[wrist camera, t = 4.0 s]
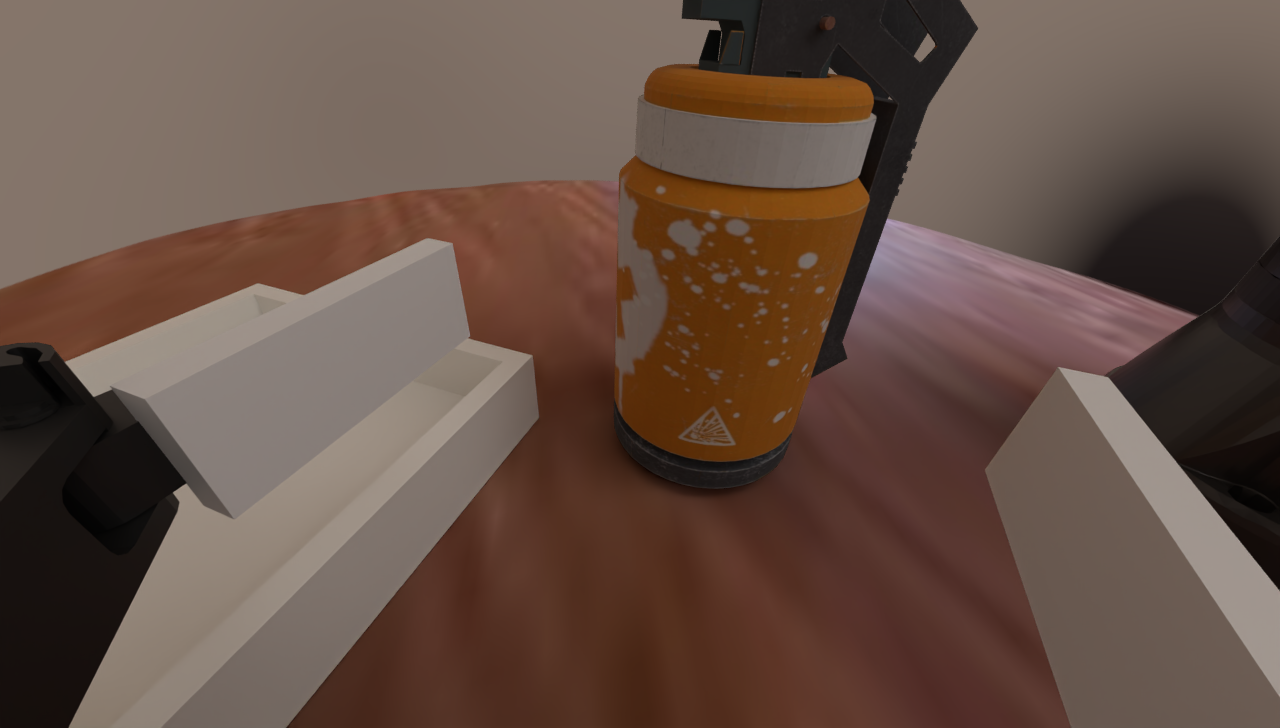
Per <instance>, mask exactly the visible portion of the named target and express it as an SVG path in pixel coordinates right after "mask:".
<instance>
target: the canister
mask: <svg viewBox="0 0 1280 728" xmlns="http://www.w3.org/2000/svg"><path fill="white" fill-rule="evenodd" d="M682 19H697V20H711V21H719V24H720V27H721V31H722V39H721V31H719V30H709V33H708V35H707V38H706V42H705V44H704V47H703V50H702V53H701V57H700V59H699V64H674V65H668V66H664V67H660V68H657V69H655V70H654V71H653V72H652V73H651V74H650V76H649V77H648V79H647V81H646V83H645V91H644V95H641V96H639V98H638V109H637V127H636V145H635V153H636V156H634V157H633V158H632V159H631V160H630V161H629V162H628V163H627V164H626V165H625V166H624V167H623V168H622V169H621V171H620V173H619V207H618V251H617V296H616V341H615V386H614V393H615V400H614V426H615V430H616V433H617V436H618V438H619V440H620V442H621V444H622V445H623V447H624V448H625V449H626V451H627V452H628V453H629V454H630V455H631V457H633V458H634V459H635V460H636V461H637V462H638V463H639V464H641V465H642V466H644V467H645V468H647V469H648V470H650V471H651V472H653V473H655V474H657V475H659V476H661V477H663V478H665V479H668V480H671V481H674V482H677V483H680V484H683V485H688V486H694V487H700V488H730V487H735V486H741V485H745V484H748V483H751V482H753V481H756V480H758V479H760V478H762V477H763V476H765V475H767V474H768V473H770V472H771V471H772V470H773V469H774V468H776V467H777V465H778V464H779V463H780V461H781V460H782V459H783V457H784V455H785V452H786V450H787V447H788V444H789V441H790V438H791V435H792V431H793V428H794V426H795V423H796V420H797V417H798V414H799V411H800V408H801V405H802V402H803V399H804V396H805V393H806V390H807V387H808V384H809V381H810V379H811V378H812V377H814V376H816V375H818V374H820V373H822V372H823V371H825V370H827V369H829V368H831V367H833V366H834V365H836V364H838V363H840V362H842V361H844V360H845V359H847V356H846V353H845V349H844V346H843V343H842V341H843V339H844V336H845V333H846V330H847V328H848V325H849V322H850V319H851V317H852V314H853V311H854V308H855V306H856V303H857V300H858V297H859V294H860V292H861V289H862V286H863V283H864V281H865V278H866V275H867V272H868V270H869V267H870V264H871V261H872V259H873V256H874V253H875V250H876V248H877V245H878V242H879V239H880V237H881V234H882V231H883V228H884V225H885V223H886V220H887V217H888V214H889V212H890V209H891V206H892V203H893V201H894V198H895V196H897V195H898V192H899V189H898V187H899V184H902V182H903V178H902V176H903V173H906V171H907V168H908V167H907V166H906V165H907V162H908V161H910V160H911V157H912V154H911V151H912V149H914V148H915V146H916V143H917V142H915V140H916V137H917V134H918V131H919V129H920V126H921V123H922V121H923V118H924V115H925V112H926V110H927V107H928V105H929V103H930V102H931V100H932V98H933V97H934V95H935V94H936V92H937V91H938V89H939V87H940V86H941V84H942V83H943V82H944V80H945V78H946V77H947V76H948V74H949V72H950V71H951V69H952V68H953V66H954V65H955V63H956V62H957V60H958V59H959V57H960V56H961V54H962V52H963V51H964V50H965V48H966V46H967V45H968V43H969V42H970V40H971V39H972V37H973V36H974V34H975V33H976V31H977V30H978V27H977V26H976V24H975V23H974V21H973V20H972V18H971V16H970V15H969V13H968V12H967V10H966V9H965V7H964V6H963V4H962V2H961V1H960V0H683V9H682ZM927 33H928V34H929V35H930V36H931V38H932V39H933V41H934V42H935V47H934V49H933V50H932V51H931V52H930V53H929V54H928V55H927V56H926V58H924V60H923V61H921V62H919V61H918V60H917V59H916V58H915V57H914V55H915V53H916V51H917V50H918V48H919V47H920V45H921V43H922V42H923V40H924V38H925V37H926V35H927ZM720 39H721V46H720ZM719 47H720V54H719ZM718 55H719V61H718ZM829 67H830V68H831V69H832V70H833V71H834V72H835V73H836V74H837V75H835V74H828V70H829ZM888 97H890V98H891V99H892V100H890V99H888Z"/></svg>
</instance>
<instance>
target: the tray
mask: <svg viewBox="0 0 1280 728" xmlns="http://www.w3.org/2000/svg"><path fill="white" fill-rule="evenodd" d="M302 296H304V295H300V294H297V293H293V292H289V291H285V290H281V289H277V288H274V287H270V286H266V285H262V284H255V285H253V286H250V287H248V288H245V289H243V290H241V291H238V292H236V293H233V294H231V295H228V296H226V297H223V298H221V299H218V300H216V301H214V302H211V303H209V304H206V305H204V306H201V307H199V308H196V309H194V310H191V311H189V312H187V313H184V314H182V315H179V316H177V317H174V318H172V319H169V320H167V321H164V322H162V323H160V324H157V325H155V326H152V327H150V328H147V329H145V330H142V331H140V332H137V333H135V334H133V335H130V336H128V337H125V338H123V339H120V340H118V341H115V342H113V343H110V344H108V345H106V346H103V347H101V348H98V349H96V350H93V351H91V352H88V353H86V354H83V355H81V356H79V357H76V358H74V359H71V360H69V361H66V362H65V363H66V364H67V365H68V366H69V368H70V369H71V370H72V371H73V373H74V374H75V375H76V376H77V377H78V379H79V380H80V381H81V382H82V383H83V385H84V386H85V387H86V388H87V389H88V391H89V392H90V393H91V394H92V396H93V397H95V396H97V395H100V394H102V393H105V392H107V391H109V390H112V389H111V387H110V385H112V384H114V383H116V382H118V381H121V380H123V379H125V378H127V377H129V376H131V375H133V374H136V373H138V372H140V371H142V370H144V369H146V368H149V367H151V366H153V365H155V364H157V363H159V362H162V361H164V360H166V359H168V358H170V357H172V356H174V355H177V354H179V353H181V352H183V351H185V350H187V349H190V348H192V347H194V346H196V345H198V344H200V343H202V342H205V341H207V340H209V339H211V338H213V337H215V336H218V335H220V334H222V333H224V332H226V331H228V330H231V329H233V328H235V327H237V326H239V325H241V324H243V323H246V322H248V321H250V320H252V319H254V318H256V317H259V316H261V315H263V314H265V313H267V312H269V311H271V310H274V309H276V308H278V307H280V306H282V305H284V304H287V303H289V302H291V301H293V300H295V299H297V298H299V297H302ZM538 418H539V411H538V402H537V392H536V383H535V373H534V364H533V355H529V354H525V353H521V352H517V351H514V350H510V349H506V348H502V347H498V346H494V345H491V344H487V343H483V342H479V341H475V340H472V339H468V338H467V339H466V340H464V341H463V342H462V343H461V344H459V345H458V346H457V347H455V348H454V349H453V350H452V351H450V352H449V353H448V354H446V355H445V356H444V357H443V358H441V359H440V360H439V361H437V362H436V363H435V364H434V365H432V366H431V367H430V368H428V369H427V370H426V371H425V372H423V373H422V374H421V375H419V376H418V377H417V378H416V379H414V380H413V381H412V382H411V383H409V384H408V385H407V386H405V387H404V388H403V389H402V390H400V391H399V392H398V393H396V394H395V395H394V396H393V397H391V398H390V399H389V400H387V401H386V402H385V403H384V404H382V405H381V406H380V407H378V408H377V409H376V410H375V411H373V412H372V413H371V414H369V415H368V416H367V417H366V418H364V419H363V420H362V421H361V422H359V423H358V424H357V425H355V426H354V427H353V428H352V429H350V430H349V431H348V432H346V433H345V434H344V435H343V436H341V437H340V438H339V439H337V440H336V441H335V442H334V443H332V444H331V445H330V446H328V447H327V448H326V449H325V450H323V451H322V452H321V453H319V454H318V455H317V456H316V457H314V458H313V459H312V460H310V461H309V462H308V463H307V464H305V465H304V466H303V467H302V468H300V469H299V470H298V471H296V472H295V473H294V474H293V475H291V476H290V477H289V478H287V479H286V480H285V481H284V482H282V483H281V484H280V485H278V486H277V487H276V488H275V489H273V490H272V491H271V492H269V493H268V494H267V495H266V496H264V497H263V498H262V499H260V500H259V501H258V502H257V503H255V504H254V505H253V506H252V507H250V508H249V509H248V510H246V511H245V512H244V513H243V514H241V515H240V516H239V517H237V518H236V519H235V520H234V519H232V518H230V517H227V516H225V515H223V514H221V513H218V512H216V511H214V510H212V509H209V508H207V507H205V506H203V504H202V503H201V502H200V500H199V499H198V498H197V497H196V495H195V494H194V493H193V492H192V490H191V489H190V488H189V486H188V485H187V484H185V485H183V486H182V487H180V488H179V489H177V490H176V491H174V492H173V494H174V495H175V496H176V498H177V499H178V500H179V507H178V512H177V514H176V516H175V518H174V520H173V522H172V524H171V526H170V528H169V530H168V532H167V534H166V536H165V538H164V540H163V542H162V544H161V546H160V548H159V550H158V551H157V553H156V555H155V557H154V559H153V561H152V563H151V565H150V567H149V569H148V571H147V573H146V575H145V577H144V579H143V581H142V583H141V585H140V587H139V589H138V591H137V593H136V595H135V597H134V599H133V601H132V603H131V605H130V607H129V609H128V611H127V613H126V615H125V617H124V619H123V621H122V623H121V625H120V627H119V629H118V631H117V633H116V635H115V637H114V639H113V641H112V643H111V645H110V647H109V649H108V651H107V653H106V655H105V656H104V658H103V660H102V662H101V664H100V666H99V668H98V670H97V672H96V674H95V676H94V678H93V680H92V682H91V684H90V686H89V688H88V690H87V692H86V694H85V696H84V698H83V700H82V702H81V704H80V706H79V708H78V710H77V712H76V714H75V716H74V718H73V720H72V722H71V724H70V726H69V728H286V727H287V726H288V725H289V723H290V722H291V721H292V720H293V719H294V717H295V716H296V715H297V714H298V712H299V711H300V710H301V709H302V708H303V706H304V705H305V704H306V703H307V701H308V700H309V699H310V698H311V697H312V695H313V694H314V693H315V692H316V690H317V689H318V688H319V687H320V685H321V684H322V683H323V682H324V681H325V679H326V678H327V677H328V676H329V674H330V673H331V672H332V671H333V670H334V668H335V667H336V666H337V665H338V663H339V662H340V661H341V660H342V659H343V657H344V656H345V655H346V654H347V652H348V651H349V650H350V649H351V647H352V646H353V645H354V644H355V643H356V641H357V640H358V639H359V638H360V636H361V635H362V634H363V633H364V632H365V630H366V629H367V628H368V627H369V625H370V624H371V623H372V622H373V621H374V619H375V618H376V617H377V616H378V614H379V613H380V612H381V611H382V610H383V608H384V607H385V606H386V605H387V603H388V602H389V601H390V600H391V598H392V597H393V596H394V595H395V594H396V592H397V591H398V590H399V589H400V587H401V586H402V585H403V584H404V583H405V581H406V580H407V579H408V578H409V576H410V575H411V574H412V573H413V572H414V570H415V569H416V568H417V567H418V565H419V564H420V563H421V562H422V560H423V559H424V558H425V557H426V556H427V554H428V553H429V552H430V551H431V549H432V548H433V547H434V546H435V545H436V543H437V542H438V541H439V540H440V538H441V537H442V536H443V535H444V534H445V532H446V531H447V530H448V529H449V527H450V526H451V525H452V524H453V522H454V521H455V520H456V519H457V518H458V516H459V515H460V514H461V513H462V511H463V510H464V509H465V508H466V507H467V505H468V504H469V503H470V502H471V500H472V499H473V498H474V497H475V496H476V494H477V493H478V492H479V491H480V489H481V488H482V487H483V486H484V484H485V483H486V482H487V481H488V480H489V478H490V477H491V476H492V475H493V473H494V472H495V471H496V470H497V469H498V467H499V466H500V465H501V464H502V462H503V461H504V460H505V459H506V458H507V456H508V455H509V454H510V453H511V451H512V450H513V449H514V448H515V447H516V445H517V444H518V443H519V442H520V440H521V439H522V438H523V437H524V435H525V434H526V433H527V432H528V431H529V429H530V428H531V427H532V426H533V424H534V423H535V422H536V421H537V420H538Z"/></svg>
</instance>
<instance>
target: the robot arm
mask: <svg viewBox="0 0 1280 728" xmlns="http://www.w3.org/2000/svg"><path fill="white" fill-rule="evenodd" d="M469 336H470V332H469V327H468V322H467V316H466V311H465V306H464V301H463V296H462V290H461V285H460V280H459V275H458V270H457V265H456V259H455V254H454V249H453V244H452V243H448V242H444V241H439V240H434V239H429V238H427V239H425V240H422V241H420V242H418V243H416V244H414V245H412V246H409V247H407V248H405V249H403V250H401V251H399V252H397V253H394V254H392V255H390V256H388V257H386V258H384V259H381V260H379V261H377V262H375V263H373V264H371V265H368V266H366V267H364V268H362V269H360V270H358V271H356V272H353V273H351V274H349V275H347V276H345V277H343V278H340V279H338V280H336V281H334V282H332V283H330V284H328V285H325V286H323V287H321V288H319V289H317V290H315V291H312V292H310V293H308V294H306V295H304V296H302V297H299V298H297V299H295V300H293V301H291V302H289V303H287V304H284V305H282V306H280V307H278V308H276V309H274V310H271V311H269V312H267V313H265V314H263V315H261V316H259V317H256V318H254V319H252V320H250V321H248V322H246V323H243V324H241V325H239V326H237V327H235V328H233V329H231V330H228V331H226V332H224V333H222V334H220V335H218V336H215V337H213V338H211V339H209V340H207V341H205V342H202V343H200V344H198V345H196V346H194V347H192V348H190V349H187V350H185V351H183V352H181V353H179V354H177V355H174V356H172V357H170V358H168V359H166V360H164V361H162V362H159V363H157V364H155V365H153V366H151V367H149V368H146V369H144V370H142V371H140V372H138V373H136V374H133V375H131V376H129V377H127V378H125V379H123V380H121V381H118V382H116V383H114V384H112V385H110V387H111V389H112V390H109V391H107V392H105V393H102V394H100V395H97V396H95V397H93V396H92V394H91V393H90V392H89V391H88V389H87V388H86V387H85V386H84V385H83V383H82V382H81V381H80V380H79V379H78V377H77V376H76V375H75V374H74V373H73V371H72V370H71V369H70V368H69V366H68V365H67V364H66V363H65V362H64V360H63V359H62V358H61V357H60V356H59V354H58V353H57V352H56V351H55V350H54V348H53V347H52V346H51V345H47V344H42V343H16V344H10V345H4V346H0V728H69V726H70V724H71V722H72V720H73V718H74V716H75V714H76V712H77V710H78V708H79V706H80V704H81V702H82V700H83V698H84V696H85V694H86V692H87V690H88V688H89V686H90V684H91V682H92V680H93V678H94V676H95V674H96V672H97V670H98V668H99V666H100V664H101V662H102V660H103V658H104V656H105V655H106V653H107V651H108V649H109V647H110V645H111V643H112V641H113V639H114V637H115V635H116V633H117V631H118V629H119V627H120V625H121V623H122V621H123V619H124V617H125V615H126V613H127V611H128V609H129V607H130V605H131V603H132V601H133V599H134V597H135V595H136V593H137V591H138V589H139V587H140V585H141V583H142V581H143V579H144V577H145V575H146V573H147V571H148V569H149V567H150V565H151V563H152V561H153V559H154V557H155V555H156V553H157V551H158V550H159V548H160V546H161V544H162V542H163V540H164V538H165V536H166V534H167V532H168V530H169V528H170V526H171V524H172V522H173V520H174V518H175V516H176V514H177V512H178V507H179V500H178V499H177V498H176V496H175V495H174V494H173V492H174V491H176V490H177V489H179V488H180V487H182V486H183V485H185V484H187V485H188V486H189V488H190V489H191V490H192V492H193V493H194V494H195V495H196V497H197V498H198V499H199V500H200V502H201V503H202V504H203V506H205V507H207V508H209V509H212V510H214V511H216V512H218V513H221V514H223V515H225V516H227V517H230V518H232V519H234V520H235V519H236V518H237V517H239V516H240V515H241V514H243V513H244V512H245V511H246V510H248V509H249V508H250V507H252V506H253V505H254V504H255V503H257V502H258V501H259V500H260V499H262V498H263V497H264V496H266V495H267V494H268V493H269V492H271V491H272V490H273V489H275V488H276V487H277V486H278V485H280V484H281V483H282V482H284V481H285V480H286V479H287V478H289V477H290V476H291V475H293V474H294V473H295V472H296V471H298V470H299V469H300V468H302V467H303V466H304V465H305V464H307V463H308V462H309V461H310V460H312V459H313V458H314V457H316V456H317V455H318V454H319V453H321V452H322V451H323V450H325V449H326V448H327V447H328V446H330V445H331V444H332V443H334V442H335V441H336V440H337V439H339V438H340V437H341V436H343V435H344V434H345V433H346V432H348V431H349V430H350V429H352V428H353V427H354V426H355V425H357V424H358V423H359V422H361V421H362V420H363V419H364V418H366V417H367V416H368V415H369V414H371V413H372V412H373V411H375V410H376V409H377V408H378V407H380V406H381V405H382V404H384V403H385V402H386V401H387V400H389V399H390V398H391V397H393V396H394V395H395V394H396V393H398V392H399V391H400V390H402V389H403V388H404V387H405V386H407V385H408V384H409V383H411V382H412V381H413V380H414V379H416V378H417V377H418V376H419V375H421V374H422V373H423V372H425V371H426V370H427V369H428V368H430V367H431V366H432V365H434V364H435V363H436V362H437V361H439V360H440V359H441V358H443V357H444V356H445V355H446V354H448V353H449V352H450V351H452V350H453V349H454V348H455V347H457V346H458V345H459V344H461V343H462V342H463V341H464V340H466V339H467V338H468V337H469ZM985 473H986V476H987V479H988V482H989V485H990V487H991V490H992V493H993V496H994V499H995V502H996V505H997V508H998V511H999V514H1000V517H1001V520H1002V523H1003V526H1004V529H1005V532H1006V535H1007V538H1008V541H1009V544H1010V547H1011V550H1012V553H1013V556H1014V559H1015V562H1016V565H1017V568H1018V571H1019V574H1020V577H1021V580H1022V583H1023V586H1024V589H1025V592H1026V595H1027V598H1028V601H1029V604H1030V607H1031V610H1032V613H1033V616H1034V619H1035V622H1036V625H1037V628H1038V631H1039V634H1040V637H1041V640H1042V643H1043V646H1044V649H1045V651H1046V654H1047V657H1048V660H1049V663H1050V666H1051V669H1052V672H1053V675H1054V678H1055V681H1056V684H1057V687H1058V690H1059V693H1060V696H1061V699H1062V702H1063V705H1064V708H1065V711H1066V714H1067V717H1068V720H1069V723H1070V726H1071V728H1280V237H1279V238H1278V239H1277V240H1276V241H1275V242H1274V243H1273V244H1272V245H1271V247H1270V248H1269V249H1268V250H1267V251H1266V252H1265V253H1264V254H1263V255H1262V256H1261V258H1260V259H1259V260H1258V261H1257V262H1256V263H1255V265H1254V266H1253V267H1252V268H1251V269H1250V270H1249V271H1248V273H1247V274H1246V275H1245V276H1244V277H1243V278H1242V279H1241V280H1240V282H1239V283H1238V284H1237V286H1235V287H1234V289H1233V290H1232V291H1231V292H1230V293H1229V294H1228V295H1227V296H1226V297H1225V298H1224V299H1223V300H1222V301H1221V302H1220V303H1219V304H1217V305H1216V306H1215V307H1213V308H1212V309H1210V310H1208V311H1207V312H1206V313H1204V314H1202V315H1201V316H1199V317H1197V318H1196V319H1194V320H1192V321H1191V322H1189V323H1188V324H1186V325H1184V326H1183V327H1181V328H1180V329H1178V330H1176V331H1175V332H1173V333H1172V334H1170V335H1168V336H1167V337H1165V338H1164V339H1162V340H1161V341H1159V342H1158V343H1156V344H1155V345H1153V346H1152V347H1150V348H1149V349H1147V350H1146V351H1144V352H1143V353H1141V354H1140V355H1138V356H1137V357H1135V358H1134V359H1133V360H1131V361H1130V362H1128V363H1127V364H1125V365H1123V366H1120V367H1117V368H1115V369H1113V370H1112V371H1110V372H1108V373H1107V374H1106V375H1105V376H1100V375H1095V374H1090V373H1085V372H1080V371H1075V370H1070V369H1065V368H1060V367H1058V368H1057V369H1056V371H1055V372H1054V373H1053V375H1052V376H1051V378H1050V379H1049V380H1048V382H1047V383H1046V385H1045V386H1044V387H1043V389H1042V390H1041V392H1040V393H1039V394H1038V396H1037V397H1036V399H1035V400H1034V401H1033V403H1032V404H1031V406H1030V407H1029V408H1028V410H1027V411H1026V413H1025V414H1024V416H1023V417H1022V418H1021V420H1020V421H1019V423H1018V424H1017V425H1016V427H1015V428H1014V430H1013V431H1012V432H1011V434H1010V435H1009V437H1008V438H1007V439H1006V441H1005V442H1004V444H1003V445H1002V446H1001V448H1000V449H999V451H998V452H997V453H996V455H995V456H994V458H993V459H992V460H991V462H990V463H989V465H988V466H987V467H986V469H985Z"/></svg>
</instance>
